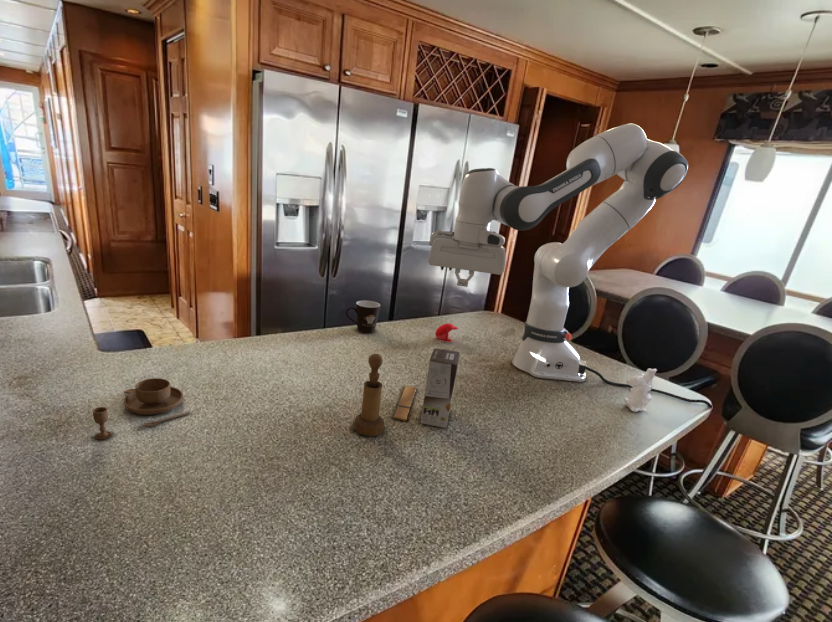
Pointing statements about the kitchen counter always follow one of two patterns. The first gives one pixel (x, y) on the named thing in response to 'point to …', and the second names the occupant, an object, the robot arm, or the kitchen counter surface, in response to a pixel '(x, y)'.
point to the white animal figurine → (640, 390)
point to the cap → (444, 332)
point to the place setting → (144, 402)
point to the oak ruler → (405, 403)
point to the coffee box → (439, 387)
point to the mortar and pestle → (371, 402)
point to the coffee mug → (366, 316)
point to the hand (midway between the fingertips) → (462, 285)
